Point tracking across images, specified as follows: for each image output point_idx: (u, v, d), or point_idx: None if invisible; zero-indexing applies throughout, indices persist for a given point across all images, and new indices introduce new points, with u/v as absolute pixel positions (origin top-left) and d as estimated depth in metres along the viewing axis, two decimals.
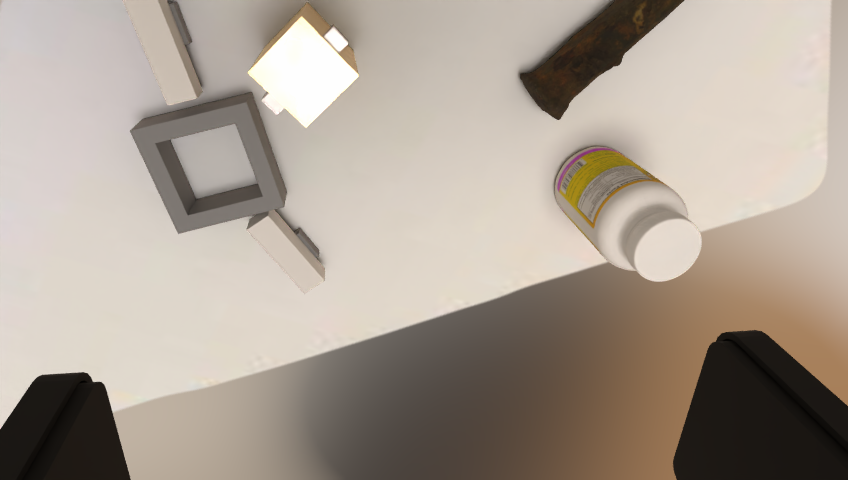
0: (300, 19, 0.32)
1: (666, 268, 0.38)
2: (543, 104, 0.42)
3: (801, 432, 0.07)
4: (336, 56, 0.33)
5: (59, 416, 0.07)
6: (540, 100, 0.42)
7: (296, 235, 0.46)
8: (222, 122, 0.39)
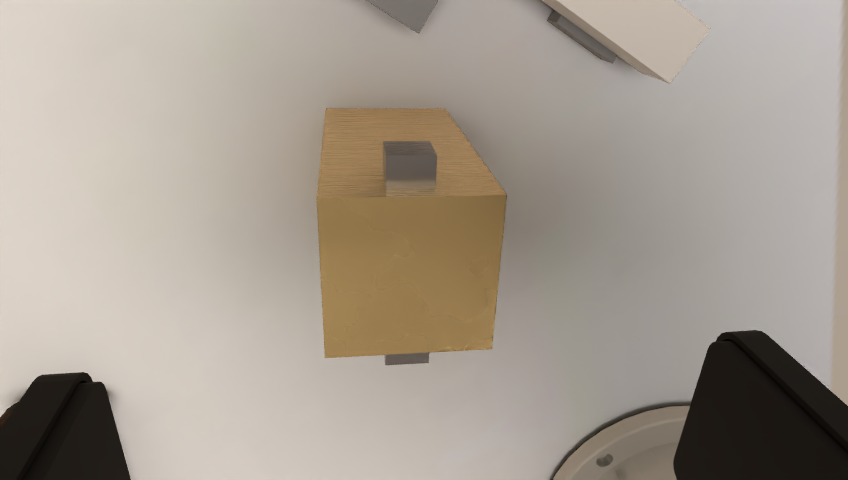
0: (489, 343, 0.15)
1: None
2: None
3: (801, 432, 0.07)
4: (388, 348, 0.15)
5: (59, 416, 0.07)
6: None
7: None
8: None
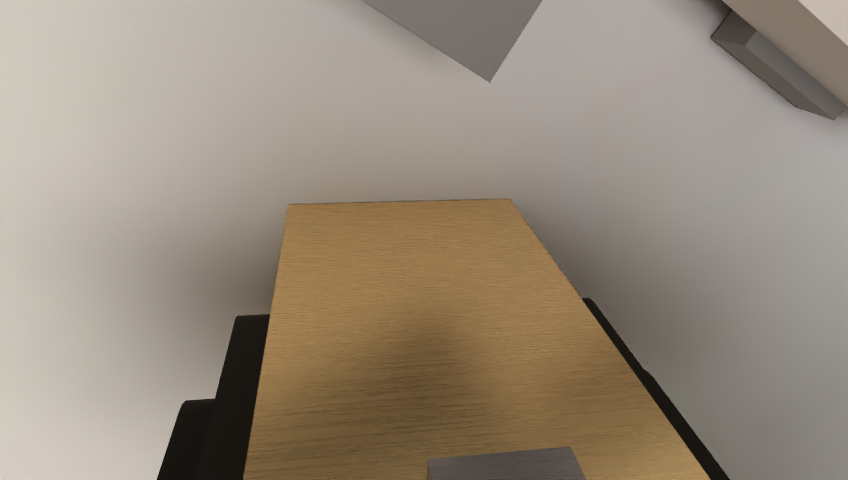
0: None
1: None
2: None
3: None
4: None
5: None
6: None
7: None
8: None
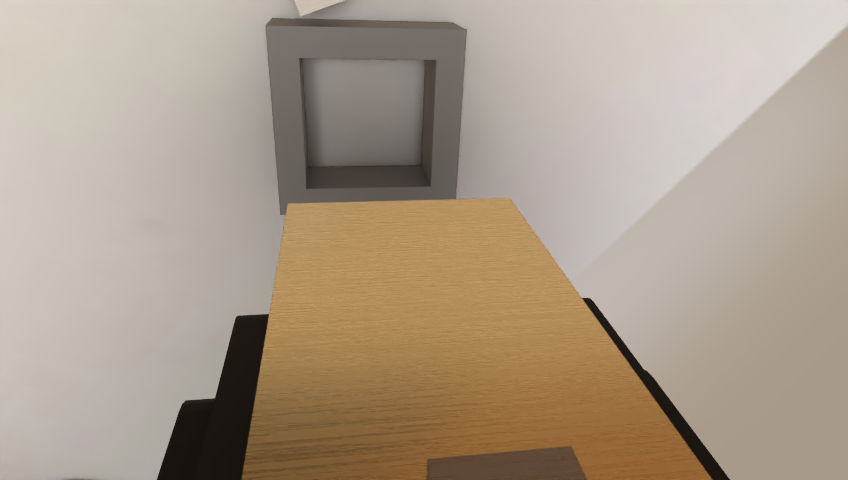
0: None
1: None
2: None
3: None
4: None
5: None
6: None
7: None
8: (324, 194, 0.26)
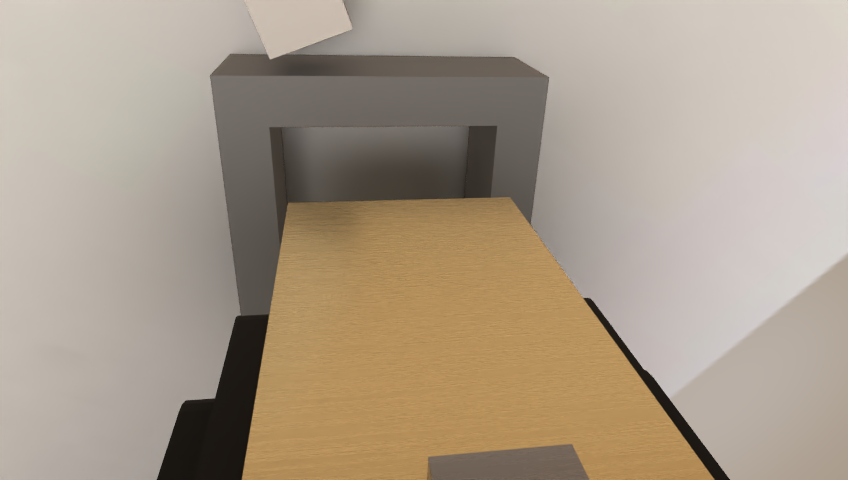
0: None
1: None
2: None
3: None
4: None
5: None
6: None
7: None
8: None
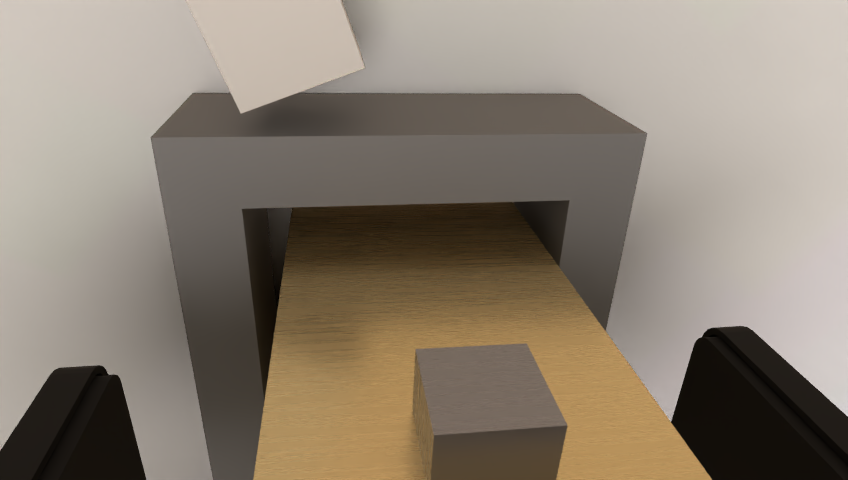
0: None
1: None
2: None
3: (783, 426, 0.07)
4: None
5: (77, 407, 0.07)
6: None
7: None
8: None
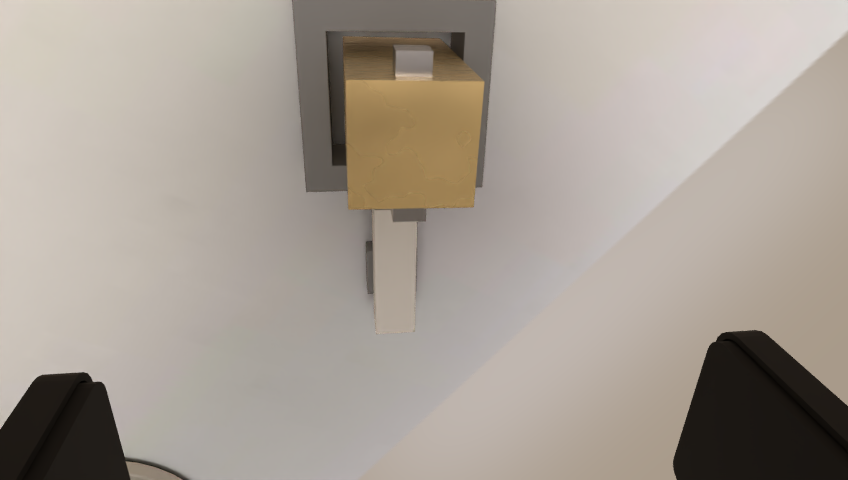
0: (471, 202, 0.20)
1: None
2: None
3: (801, 432, 0.07)
4: (395, 204, 0.20)
5: (59, 416, 0.07)
6: None
7: None
8: None
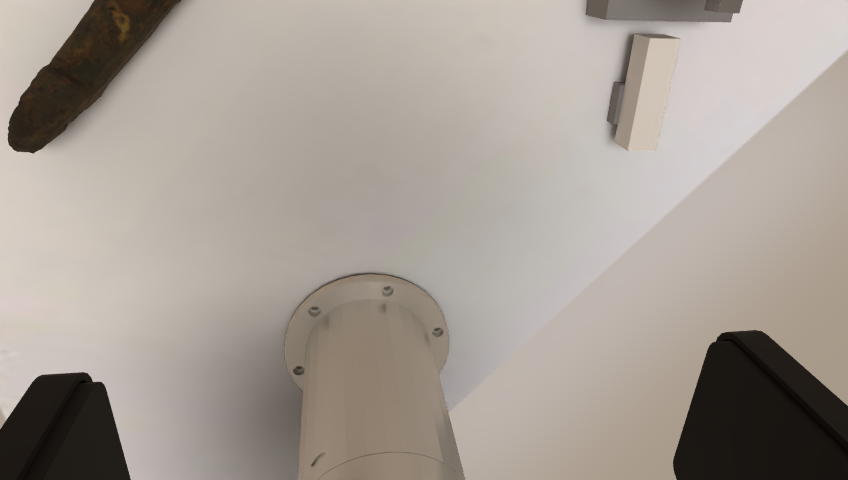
0: None
1: None
2: None
3: (801, 432, 0.07)
4: None
5: (59, 416, 0.07)
6: None
7: None
8: (640, 3, 0.34)
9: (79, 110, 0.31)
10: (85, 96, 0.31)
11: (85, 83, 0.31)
